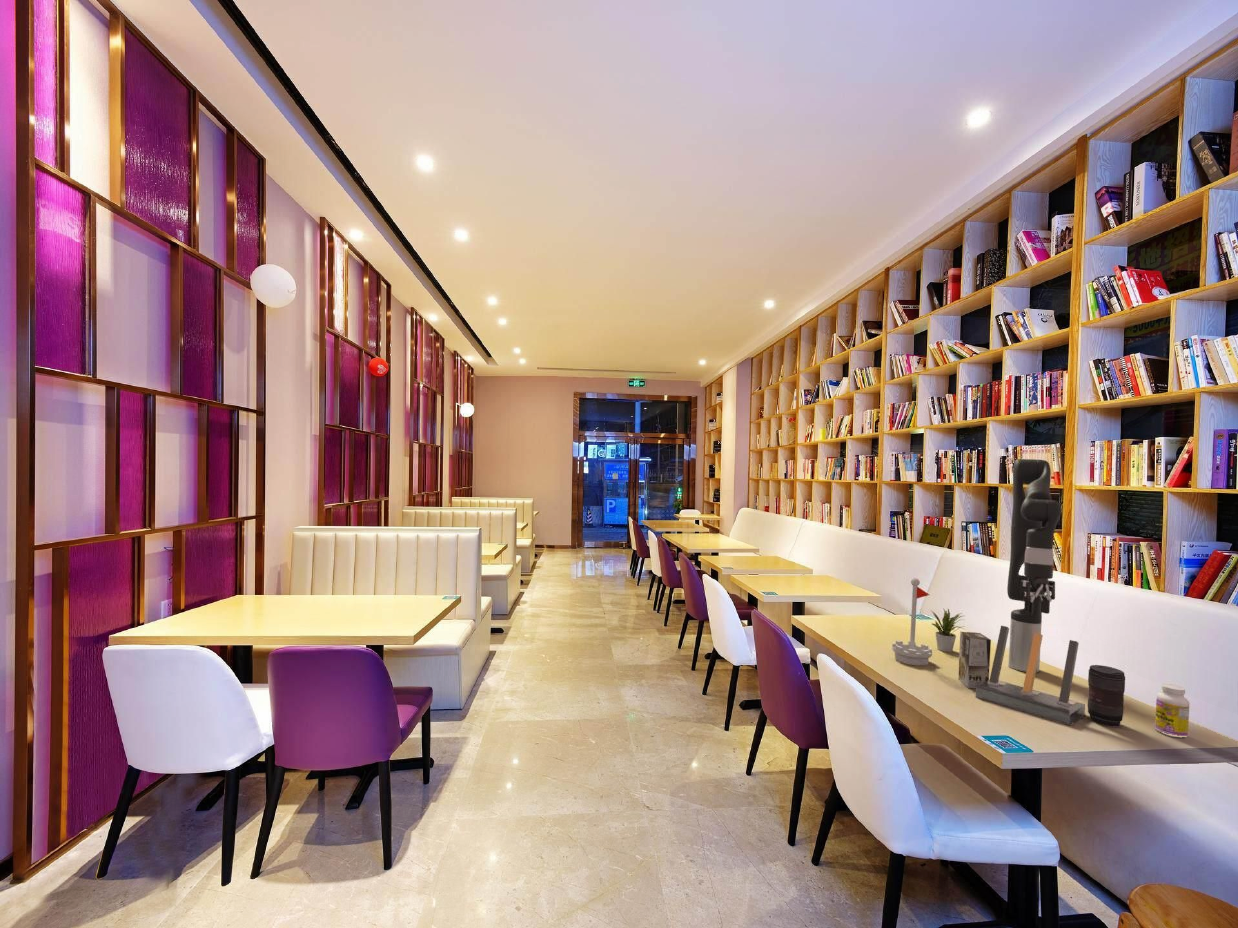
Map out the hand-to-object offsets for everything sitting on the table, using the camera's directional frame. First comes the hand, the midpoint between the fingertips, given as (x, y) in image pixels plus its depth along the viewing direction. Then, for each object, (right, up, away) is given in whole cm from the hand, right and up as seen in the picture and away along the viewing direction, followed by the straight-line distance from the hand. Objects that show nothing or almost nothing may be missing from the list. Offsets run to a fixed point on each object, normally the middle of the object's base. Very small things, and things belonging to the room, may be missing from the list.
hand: (1036, 613), depth 192 cm
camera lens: (+4, -26, -21) cm, 34 cm away
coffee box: (-17, -25, +5) cm, 31 cm away
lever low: (-17, -20, -5) cm, 27 cm away
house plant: (-4, -26, +44) cm, 51 cm away
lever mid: (-11, -21, -12) cm, 27 cm away
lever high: (-6, -21, -19) cm, 29 cm away
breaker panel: (-10, -25, -11) cm, 29 cm away
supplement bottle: (+18, -26, -27) cm, 42 cm away
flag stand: (-26, -24, +29) cm, 46 cm away
